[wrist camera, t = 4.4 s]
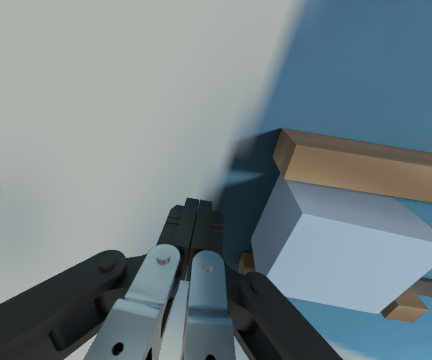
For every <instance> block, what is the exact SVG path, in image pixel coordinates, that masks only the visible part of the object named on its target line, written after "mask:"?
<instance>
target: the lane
mask: <svg viewBox="0 0 432 360" xmlns="http://www.w3.org/2000/svg"><path fill="white" fill-rule="evenodd" d="M273 159H274V161H275V163H276V165H277V167H278V169H279V171H280V173H281V175H282V177H283V178H284V179H287V180H293V181H299V182H306V183H312V184H318V185H325V186H331V187H337V188H344V189H350V190H356V191H363V192H369V193H375V194H381V195H388V196H394V197H400V198H407V199H413V200H419V201H426V202H432V153H428V152H422V151H416V150H410V149H404V148H398V147H392V146H386V145H380V144H374V143H368V142H362V141H356V140H350V139H344V138H338V137H331V136H325V135H319V134H313V133H307V132H301V131H295V130H289V129H283V128H282V129H281V132H280V135H279V138H278V141H277V145H276V148H275V151H274V154H273ZM238 269H239V273H241V274H243V275H245V274H246V273H248V272H253V271H254V272H255V264H254V257H253V253H248V252H243V253H242V256H241V259H240V262H239V265H238ZM417 295H422V296H429V297H432V279H426V278H420V279H419V280H417V281H416V282H415V283H414V284H413V285H411V286H410V287H409V288H408V289H407V290H405V291H404V292H403V293H402V294H401V295H400V296H398V297H397V298H396V299H395V300H394V301H392V302H391V303H390V304H389V305H388V306H386V307H385V308H384V309H383V310H382V311H381V313H382V315H383V316H384V318H386V319H393V320H401V321H408V322H414V321H415V320H416V319H418V318H419V317H420V316H421V315H423V314H424V313H425V312H426V311H427V310H429V309H428V308H427V307H426V306H425V305H424V303H423V302H422V301H421V300H420V299H419V297H418V296H417Z"/></svg>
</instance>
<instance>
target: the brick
mask: <svg viewBox="0 0 432 360" xmlns="http://www.w3.org/2000/svg"><path fill="white" fill-rule="evenodd" d="M251 243H252V250H253V257H254V264H255V272H259V273H262V274H263V275H265V276H266V277H267V278H269V279H270V281H271V282H272V283H273V284H274V285H275V286H276V287H277V288H278V289H279V290H280V291H281V293H282V294H283V295H284V296H286V297H291V298H296V299H301V300H307V301H312V302H317V303H322V304H327V305H333V306H338V307H343V308H348V309H353V310H359V311H364V312H369V313H374V314H378V313H379V312H381V311H382V310H383V309H384V308H385V307H386V306H388V305H389V304H390V303H391V302H392V301H394V300H395V299H396V298H397V297H398V296H400V295H401V294H402V293H403V292H404V291H405V290H407V289H408V288H409V287H410V286H411V285H413V284H414V283H415V282H416V281H417V280H419V279H420V278H421V277H422V276H423V275H425V274H426V273H427V272H428V271H429V270H430V269H432V228H431V227H430V226H428V225H427V224H426V223H425V222H423V221H422V220H421V219H419V218H418V217H417V216H416V215H414V214H413V213H412V212H411V211H409V210H408V209H407V208H405V207H404V206H403V205H402V204H400V203H399V202H398V201H396V200H395V199H394V198H392V197H388V196H384V195H380V194H375V193H369V192H363V191H356V190H350V189H344V188H337V187H331V186H325V185H318V184H312V183H306V182H299V181H293V180H287V179H284V178H283V177H282V175H281V173H280V175H279V177H278V179H277V181H276V184H275V186H274V188H273V190H272V193H271V195H270V197H269V199H268V202H267V204H266V206H265V208H264V211H263V213H262V215H261V217H260V220H259V222H258V224H257V226H256V229H255V231H254V233H253V235H252V238H251Z"/></svg>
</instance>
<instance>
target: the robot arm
mask: <svg viewBox="0 0 432 360" xmlns="http://www.w3.org/2000/svg"><path fill="white" fill-rule="evenodd" d="M198 206H199V209H198ZM197 213H198V214H197ZM188 261H189V262H188ZM187 266H188V270H187ZM186 271H187V277H186V281H189V288H188V295H187V303H186V314H185V323H184V333H183V342H182V352H181V360H236V358H235V346H234V336H235V338H236V339H237V341H238V343H239V344H240V346H241V347H242V349H243V350H244V352H245V354H246V355H247V357H248V358H249V360H343V359H342V358H341V357H340V356H339V355H338V354H337V353H336V351H335V350H334V349H333V348H332V347H331V346H330V345H329V344H328V343H327V342H326V341H325V339H324V338H323V337H322V336H321V335H320V334H319V333H318V332H317V331H316V330H315V329H314V327H313V326H312V325H311V324H310V323H309V322H308V321H307V320H306V319H305V318H304V317H303V315H302V314H301V313H300V312H299V311H298V310H297V309H296V308H295V307H294V306H293V305H292V303H291V302H290V301H289V300H288V299H287V298H286V297H285V296H284V295H283V294H282V293H281V291H280V290H279V289H278V288H277V287H276V286H275V285H274V284H273V283H272V282H271V281H270V279H269V278H267V277H266V276H265V275H263V274H262V273H259V272H254V271H253V272H248V273H246V274H245V275H243V274H241V273H239V272H236V271H234V270H233V269H231V268H230V267H229V266H228V265H227V264H226V263H225V261H224V259H223V216H222V214H221V213H220V212H219V211H212V202H211V201H205V200H200V204H199V200H198V199H192V198H187V199H186V202H185V206H180V205H176V206H175V207H173V208H172V209H171V210H170V213H169V215H168V218H167V220H166V223H165V225H164V227H163V230H162V232H161V235H160V237H159V240H158V243H157V245H156V246H155V247H153V248H152V249H151V250H150V251H149V252H148V253H147V254H145V255H142V256H138V257H131V258H125V256H124V254H123V253H121V252H120V251H117V250H107V251H104V252H101V253H98V254H97V255H95V256H93V257H91V258H89V259H87V260H85V261H83V262H81V263H79V264H77V265H75V266H74V267H71V268H69V269H67V270H65V271H64V272H62V273H59V274H58V275H56V276H54V277H52V278H50V279H48V280H46V281H44V282H42V283H40V284H38V285H36V286H34V287H32V288H30V289H28V290H26V291H24V292H22V293H20V294H19V295H17V296H15V297H13V298H11V299H9V300H7V301H5V302H3V303H1V304H0V360H64V359H65V358H66V357H67V356H69V355H70V354H71V353H72V352H74V351H75V350H76V349H78V348H79V347H80V346H82V345H83V344H84V343H85V342H87V341H88V340H89V339H91V338H92V337H93V336H95V335H96V334H97V333H98V334H97V336H96V338H95V340H94V341H93V343H92V345H91V346H90V348H89V350H88V352H87V354H86V355H85V357H84V359H83V360H158V358H159V354H160V349H161V344H162V341H163V337H164V334H165V331H166V327H167V323H168V321H169V317H170V314H171V311H172V307H173V304H174V301H175V297H176V293H177V291H178V287H179V283H180V280H184V281H185V276H186Z"/></svg>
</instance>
